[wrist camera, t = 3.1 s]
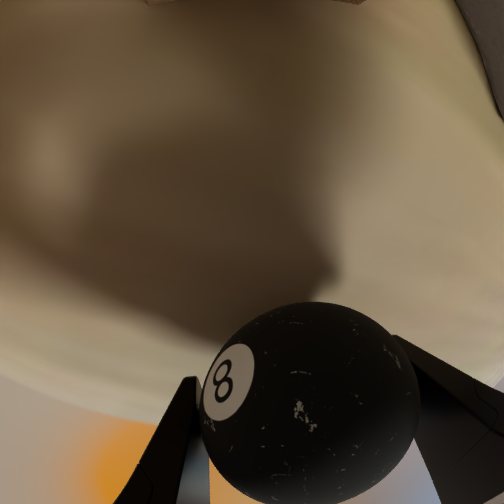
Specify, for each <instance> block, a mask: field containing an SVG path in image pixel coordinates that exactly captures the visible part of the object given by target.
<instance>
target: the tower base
mask: <svg viewBox="0 0 504 504" xmlns="http://www.w3.org/2000/svg"><path fill="white" fill-rule="evenodd" d="M172 1H179V0H146V2H147V4H148V6H151V5H156V4H161V3H167V2H172ZM335 1H341V2H346V3H352V4H357V5H359V4H360V3H362V2H364V1H365V0H335Z"/></svg>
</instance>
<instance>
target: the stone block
mask: <svg viewBox="0 0 504 504" xmlns="http://www.w3.org/2000/svg"><path fill="white" fill-rule="evenodd" d="M455 1H456V3H457V5H458V7H459V8H460V10H461V12H462V14H463V16H464V18H465V20H466V22H467V24H468V27H469V29H470V31H471V33H472V35H473V37H474V39H475V41H476V43H477V46H478V48H479V51H480V53H481V56H482V59H483V63H484V66H485V69H486V72H487V75H488V78H489V81H490V84H491V87H492V91H493V94H494V97H495V100H496V102H497V105H498V107H499V110H500V112H501V115H502V117H503V119H504V0H455Z"/></svg>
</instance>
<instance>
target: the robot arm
mask: <svg viewBox="0 0 504 504" xmlns="http://www.w3.org/2000/svg"><path fill="white" fill-rule="evenodd" d="M392 336H393V337H394V339H395V340H396V341H397V342H398V343H399V345H400V346H401V347H402V348H403V350H404V352H405V353H406V355H407V356H408V358H409V360H410V362H411V364H412V366H413V368H414V371H415V374H416V377H417V381H418V386H419V390H420V417H419V422H418V426H417V430H416V433H415V436H414V439H415V441H416V444H417V446H418V448H419V450H420V453H421V455H422V457H423V459H424V462H425V464H426V466H427V469H428V471H429V473H430V476H431V478H432V480H433V484H434V486H435V488H436V491H437V493H438V496H439V499H440V501H441V504H504V393H502V392H500V391H498V390H495V389H494V388H491V387H489V386H488V385H486V384H484V383H482V382H480V381H478V380H476V379H475V378H472V377H471V376H469V375H467V374H466V373H464V372H462V371H460V370H458V369H457V368H455V367H453V366H451V365H449V364H448V363H446V362H444V361H442V360H440V359H439V358H437V357H435V356H433V355H432V354H430V353H428V352H426V351H424V350H423V349H421V348H419V347H417V346H415V345H414V344H412V343H410V342H408V341H407V340H405V339H403V338H401V337H399V336H398V335H392ZM201 392H202V388H201V385H200V382H199V380H198V378H197V376H189V377H185V378H183V380H182V382H181V384H180V385H179V387H178V389H177V391H176V393H175V395H174V397H173V399H172V401H171V402H170V404H169V406H168V408H167V410H166V412H165V414H164V416H163V417H162V419H161V421H160V423H159V425H158V427H157V429H156V431H155V433H154V435H153V436H152V438H151V440H150V442H149V444H148V446H147V448H146V449H145V451H144V453H143V455H142V457H141V459H140V461H139V463H140V464H137V466H136V468H135V470H134V472H133V474H132V475H131V477H130V479H129V481H128V482H127V484H126V486H125V487H124V489H123V490H122V492H121V493H120V494H119V496H118V497H117V499H116V500H115V501H114V503H113V504H210V486H209V455H208V453H207V451H206V449H205V446H204V443H203V440H202V436H201V431H200V424H199V404H200V397H201Z"/></svg>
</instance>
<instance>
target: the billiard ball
mask: <svg viewBox="0 0 504 504" xmlns="http://www.w3.org/2000/svg"><path fill="white" fill-rule="evenodd" d="M419 417H420V390H419V386H418V381H417V377H416V374H415V371H414V368H413V366H412V364H411V362H410V360H409V358H408V356H407V355H406V353H405V352H404V350H403V348H402V347H401V346H400V345H399V343H398V342H397V341H396V340H395V339H394V337H393V336H392V335H391V334H390V333H389V332H388V331H387V330H386V329H384V328H383V327H382V326H381V325H379V324H378V323H377V322H376V321H374V320H372V319H371V318H369V317H368V316H366V315H364V314H362V313H360V312H358V311H356V310H353V309H351V308H348V307H345V306H341V305H337V304H332V303H324V302H302V303H295V304H290V305H286V306H282V307H279V308H276V309H274V310H271V311H269V312H267V313H265V314H263V315H261V316H259V317H257V318H255V319H254V320H252V321H250V322H249V323H247V324H246V325H245V326H244V327H242V328H241V329H240V330H239V331H237V332H236V333H235V334H234V335H233V336H232V337H231V338H230V339H229V340H228V341H227V343H226V344H225V345H224V346H223V348H222V349H221V350H220V352H219V353H218V355H217V356H216V358H215V360H214V362H213V363H212V365H211V367H210V369H209V371H208V374H207V376H206V379H205V381H204V385H203V389H202V392H201V397H200V404H199V424H200V431H201V436H202V440H203V443H204V446H205V449H206V451H207V453H208V455H209V457H210V459H211V461H212V463H213V464H214V466H215V467H216V469H217V470H218V471H219V473H220V474H221V475H222V476H223V477H224V478H225V479H226V480H227V481H228V482H229V483H230V484H231V485H232V486H233V487H234V488H236V489H237V490H239V491H240V492H242V493H243V494H245V495H247V496H248V497H250V498H252V499H254V500H257V501H259V502H262V503H265V504H337V503H340V502H343V501H345V500H348V499H351V498H353V497H355V496H357V495H359V494H361V493H363V492H365V491H366V490H368V489H370V488H371V487H373V486H374V485H376V484H377V483H378V482H380V481H381V480H382V479H383V478H384V477H386V476H387V475H388V474H389V473H390V472H391V471H392V470H393V469H394V468H395V467H396V466H397V464H398V463H399V462H400V461H401V459H402V458H403V457H404V455H405V453H406V452H407V450H408V449H409V447H410V445H411V442H412V441H413V438H414V436H415V433H416V430H417V426H418V422H419Z"/></svg>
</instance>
